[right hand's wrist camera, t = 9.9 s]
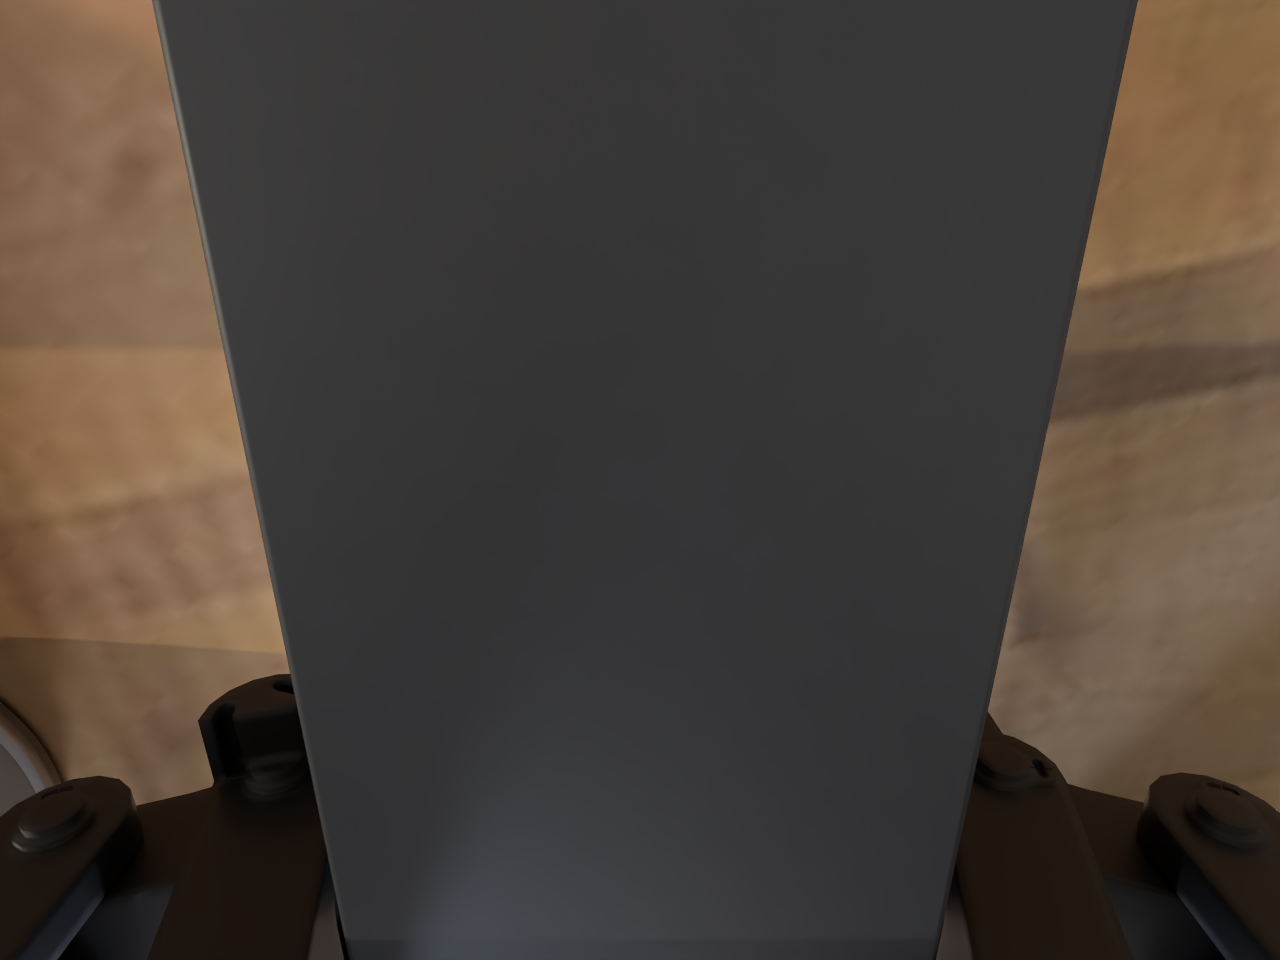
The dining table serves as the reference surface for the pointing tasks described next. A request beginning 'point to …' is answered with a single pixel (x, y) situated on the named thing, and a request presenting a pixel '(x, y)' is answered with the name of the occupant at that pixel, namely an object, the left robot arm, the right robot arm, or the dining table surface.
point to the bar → (643, 439)
